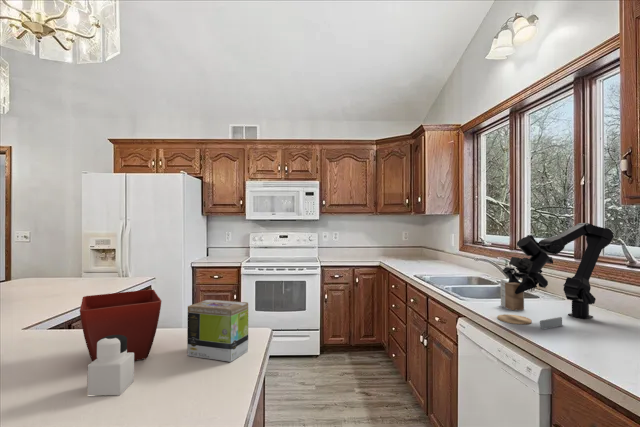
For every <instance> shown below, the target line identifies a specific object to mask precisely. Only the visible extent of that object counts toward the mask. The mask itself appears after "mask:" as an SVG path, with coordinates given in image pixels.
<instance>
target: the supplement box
mask: <svg viewBox="0 0 640 427" xmlns="http://www.w3.org/2000/svg"><path fill="white" fill-rule="evenodd" d="M508 282H509V278H500V306H502V307H503V308H505V283H508ZM519 282H520V283H521V282H522V279H521V280H520V279H519ZM523 305H524V306H525V291H524V292H523ZM506 309H507V310H509V309H508V308H506Z"/></svg>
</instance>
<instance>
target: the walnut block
mask: <svg viewBox="0 0 640 427" xmlns="http://www.w3.org/2000/svg"><path fill="white" fill-rule="evenodd" d="M519 285H520V283H515V282H512V283H505V307H504V308H505V309H507V308H508V309H507V310H511V311H523V310H525V304H524V305H523V292H522V293H519V294H515V291H516V289H517V288H518V286H519Z"/></svg>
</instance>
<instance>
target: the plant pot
mask: <svg viewBox="0 0 640 427" xmlns="http://www.w3.org/2000/svg"><path fill="white" fill-rule="evenodd" d="M161 307H162V299H161V298H160V297H159V296H158V293H156V291H155V290H154V289H143V290H133V291H122V292H113V293H104V294H92V295H86V296H85V295H84V296H83V297H82V299H81V304H80V309H79V315H80V322H81V328H82V332H83V337H84V341H85V344H86V348H87V351H88V354H89V357H90V360H91V363H92V362H93V361H94V360H96V359H97V342H98V341H99V340H100V339H101V338H103V337H106V336H110V335H123V336H126V337H127V353H131V352H133V353H134V362H136V361H142V360H145V359H148V357H149V356H150V352H151V350H152V346H153V344H154V340H155V336H156V334H157V328H158V324H159V318H160V314H161V310H162V309H161Z"/></svg>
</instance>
